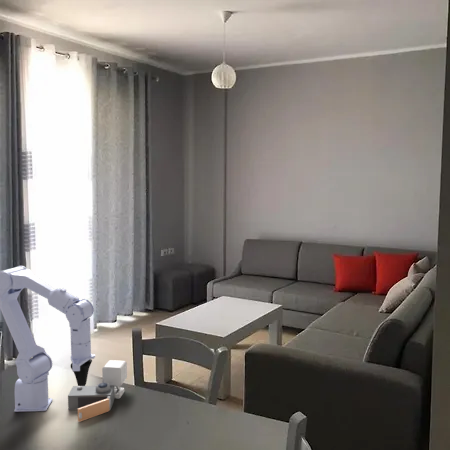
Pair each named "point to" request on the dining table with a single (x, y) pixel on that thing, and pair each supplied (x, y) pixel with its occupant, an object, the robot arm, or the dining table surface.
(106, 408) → the hatch
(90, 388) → the housing
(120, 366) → the security camera
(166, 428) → the dining table surface
